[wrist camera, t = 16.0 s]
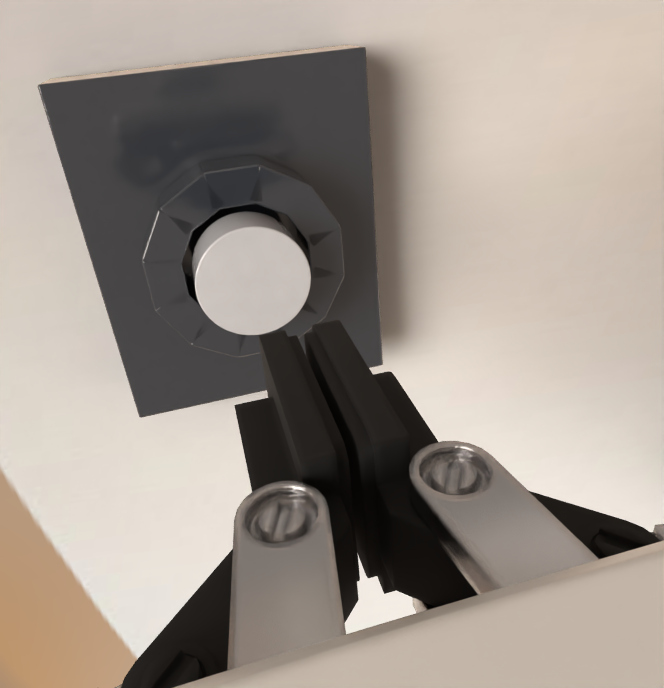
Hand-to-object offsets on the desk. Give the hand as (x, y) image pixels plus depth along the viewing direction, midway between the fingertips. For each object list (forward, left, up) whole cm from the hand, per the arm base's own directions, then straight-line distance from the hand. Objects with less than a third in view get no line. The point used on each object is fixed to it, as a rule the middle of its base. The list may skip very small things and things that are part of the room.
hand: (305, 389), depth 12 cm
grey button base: (0, 0, -12) cm, 12 cm away
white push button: (0, 0, -9) cm, 9 cm away
